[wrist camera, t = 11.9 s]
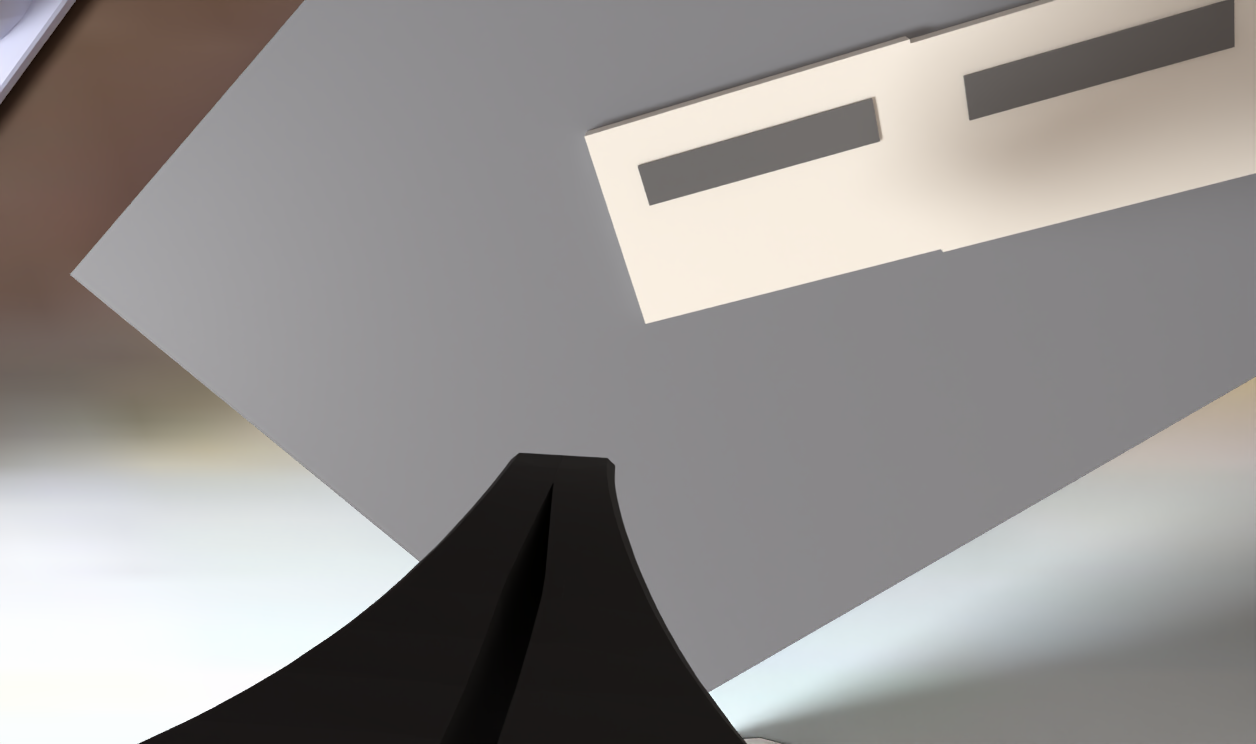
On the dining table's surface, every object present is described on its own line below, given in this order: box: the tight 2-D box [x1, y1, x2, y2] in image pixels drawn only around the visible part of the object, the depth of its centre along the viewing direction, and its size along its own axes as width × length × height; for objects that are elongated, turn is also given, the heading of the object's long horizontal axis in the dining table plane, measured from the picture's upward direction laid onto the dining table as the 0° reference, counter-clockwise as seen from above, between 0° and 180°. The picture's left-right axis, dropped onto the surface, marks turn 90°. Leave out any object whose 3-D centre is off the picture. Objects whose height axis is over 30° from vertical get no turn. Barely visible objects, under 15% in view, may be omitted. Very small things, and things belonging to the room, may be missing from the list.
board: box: [70, 0, 1256, 692], centre depth 18 cm, size 18×26×1 cm
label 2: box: [910, 0, 1256, 252], centre depth 16 cm, size 6×4×1 cm, turn 107°
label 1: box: [584, 36, 943, 324], centre depth 17 cm, size 6×4×1 cm, turn 107°
